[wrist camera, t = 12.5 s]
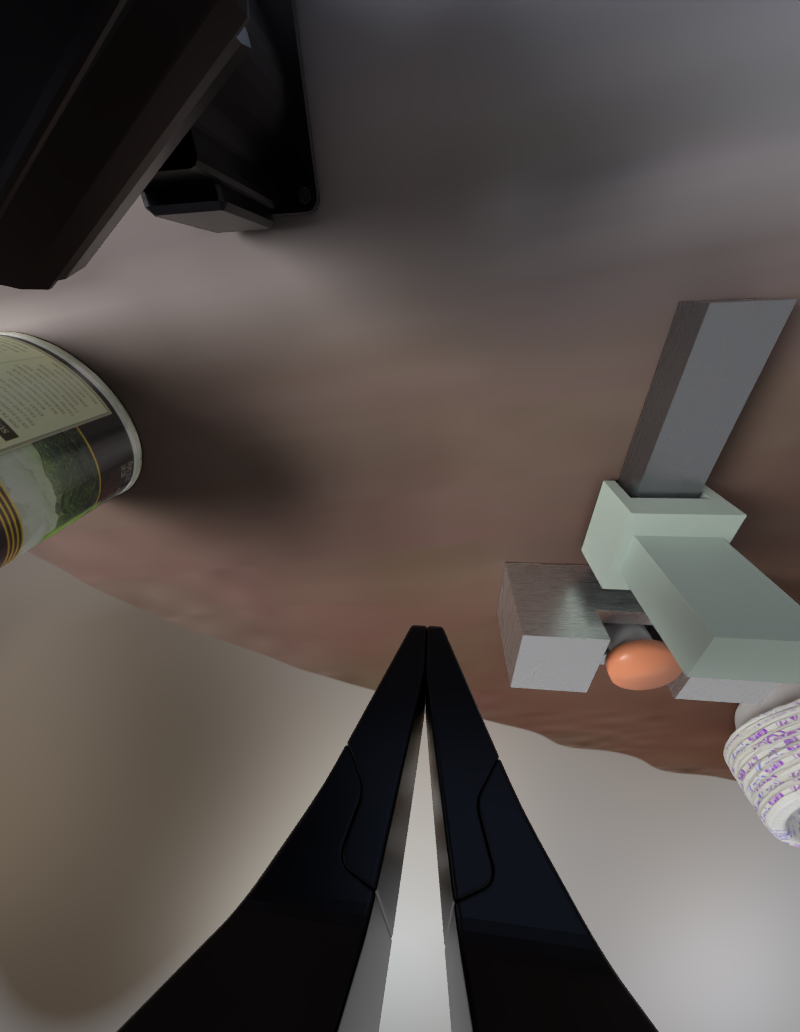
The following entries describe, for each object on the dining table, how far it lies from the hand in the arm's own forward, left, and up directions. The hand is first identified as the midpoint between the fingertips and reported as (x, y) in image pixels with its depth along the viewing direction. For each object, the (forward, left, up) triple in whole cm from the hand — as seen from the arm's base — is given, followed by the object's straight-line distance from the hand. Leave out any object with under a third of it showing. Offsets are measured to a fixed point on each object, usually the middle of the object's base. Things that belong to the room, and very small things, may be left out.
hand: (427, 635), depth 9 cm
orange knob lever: (+11, +12, -11) cm, 20 cm away
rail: (0, +12, -12) cm, 17 cm away
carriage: (+4, +12, -12) cm, 18 cm away
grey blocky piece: (+10, +12, -12) cm, 20 cm away
